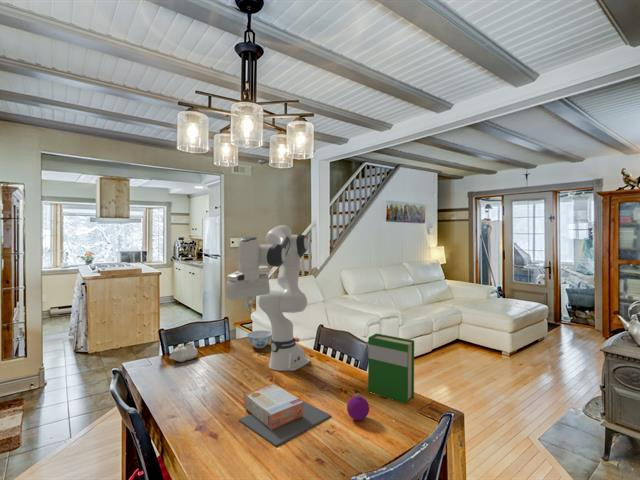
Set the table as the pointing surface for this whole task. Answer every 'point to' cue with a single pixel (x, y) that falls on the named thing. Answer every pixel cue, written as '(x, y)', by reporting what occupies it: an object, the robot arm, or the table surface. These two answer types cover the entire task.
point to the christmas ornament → (358, 407)
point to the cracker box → (273, 406)
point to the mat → (286, 425)
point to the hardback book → (391, 367)
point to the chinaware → (259, 338)
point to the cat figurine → (184, 352)
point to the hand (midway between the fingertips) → (248, 307)
